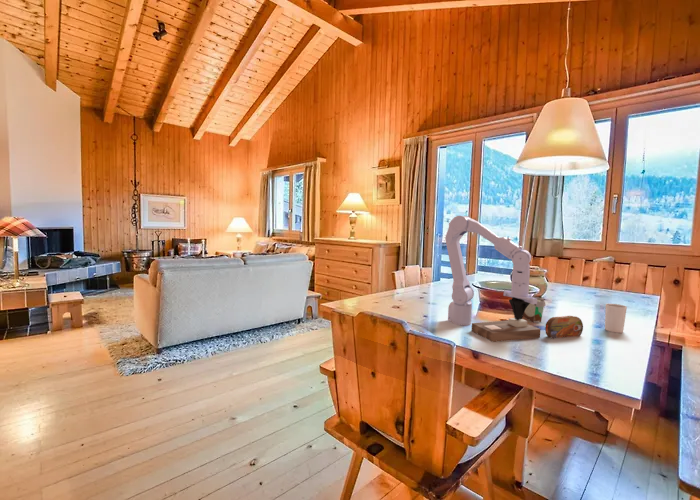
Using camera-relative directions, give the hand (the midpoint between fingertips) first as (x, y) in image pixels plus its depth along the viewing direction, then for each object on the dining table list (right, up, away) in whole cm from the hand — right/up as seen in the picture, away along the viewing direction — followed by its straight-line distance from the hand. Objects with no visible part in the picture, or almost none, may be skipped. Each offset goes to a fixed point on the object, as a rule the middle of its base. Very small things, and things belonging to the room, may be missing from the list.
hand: (518, 318), depth 129 cm
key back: (0, -3, 0) cm, 3 cm away
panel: (-5, -6, -1) cm, 8 cm away
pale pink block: (-11, -5, -3) cm, 12 cm away
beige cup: (+42, -6, +9) cm, 44 cm away
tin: (+15, -7, -2) cm, 17 cm away
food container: (+16, -5, +19) cm, 26 cm away
